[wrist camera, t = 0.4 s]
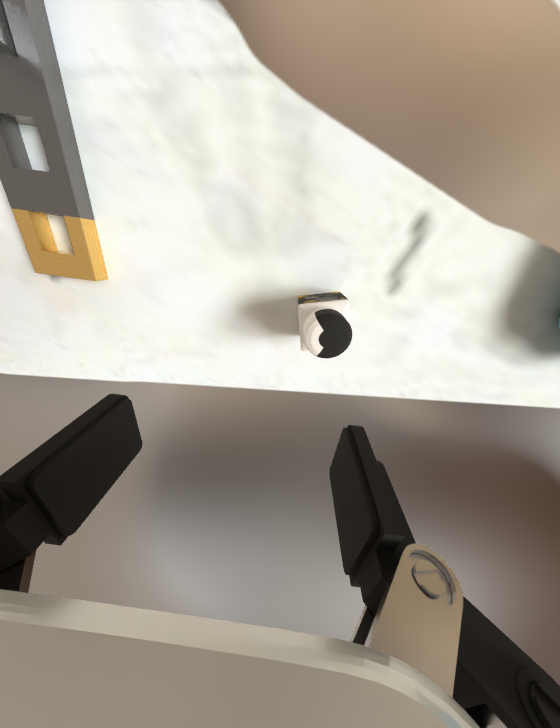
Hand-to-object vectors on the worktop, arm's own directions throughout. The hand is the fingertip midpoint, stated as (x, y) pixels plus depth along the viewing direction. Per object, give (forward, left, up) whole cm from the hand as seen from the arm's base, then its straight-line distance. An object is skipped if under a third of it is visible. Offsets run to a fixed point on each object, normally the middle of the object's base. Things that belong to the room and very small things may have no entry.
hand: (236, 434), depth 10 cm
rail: (-16, -35, -31) cm, 49 cm away
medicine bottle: (+1, +7, -31) cm, 32 cm away
